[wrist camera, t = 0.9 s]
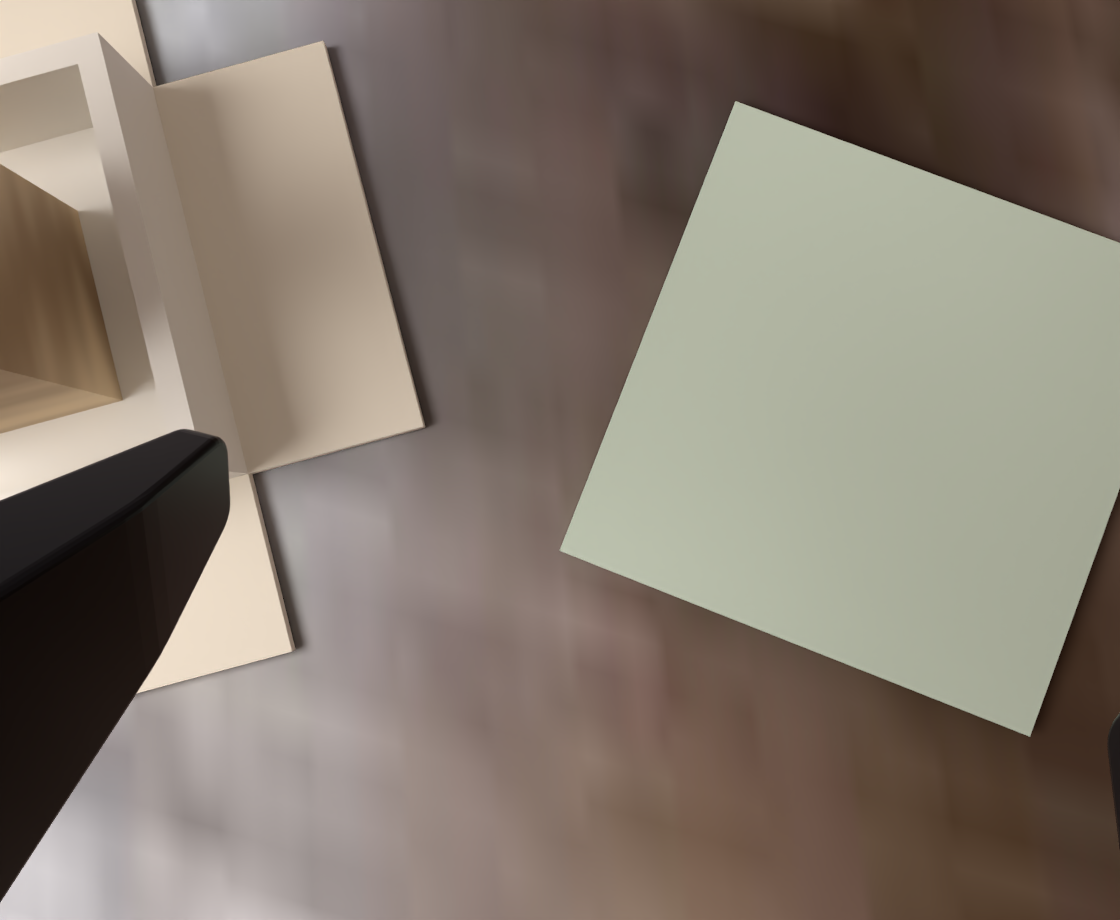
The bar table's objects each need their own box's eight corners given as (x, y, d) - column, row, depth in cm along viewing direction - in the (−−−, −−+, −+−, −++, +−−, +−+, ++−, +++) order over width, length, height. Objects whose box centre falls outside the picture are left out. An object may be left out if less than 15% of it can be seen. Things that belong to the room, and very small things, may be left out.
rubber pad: (1022, 733, 22) (1030, 736, 22) (560, 550, 23) (559, 550, 23) (1186, 276, 23) (1197, 272, 23) (733, 108, 24) (735, 101, 23)
